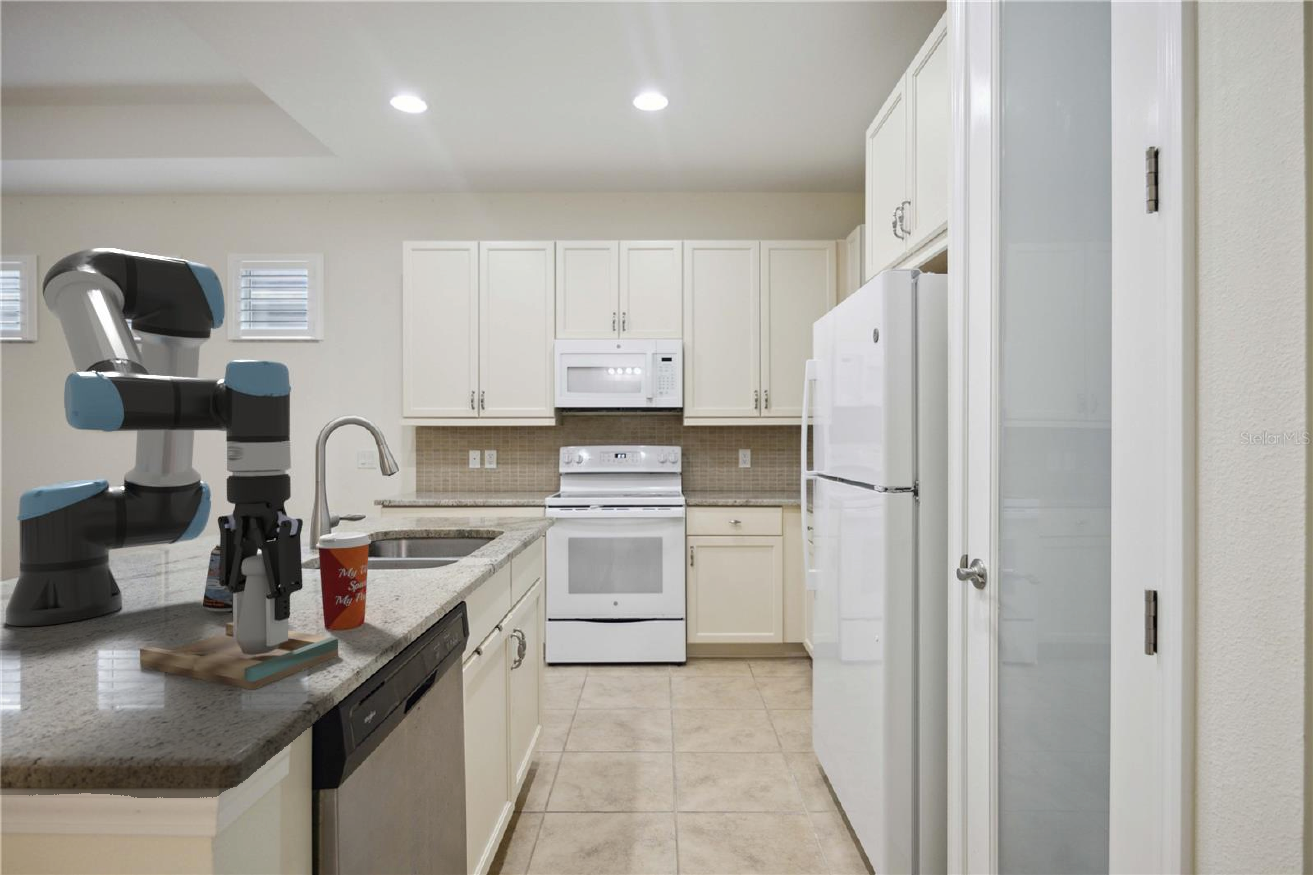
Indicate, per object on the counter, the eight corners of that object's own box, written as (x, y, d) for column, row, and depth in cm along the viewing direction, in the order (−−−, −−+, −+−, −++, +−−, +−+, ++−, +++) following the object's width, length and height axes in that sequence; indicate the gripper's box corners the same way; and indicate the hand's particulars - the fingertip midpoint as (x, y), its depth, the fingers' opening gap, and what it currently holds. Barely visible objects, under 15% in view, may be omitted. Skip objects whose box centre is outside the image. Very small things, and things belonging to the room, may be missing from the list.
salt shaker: (250, 643, 92) (249, 552, 92) (292, 642, 92) (291, 551, 92) (226, 657, 86) (225, 560, 86) (271, 656, 87) (270, 560, 86)
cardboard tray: (140, 666, 89) (139, 648, 89) (232, 637, 101) (232, 622, 101) (253, 689, 81) (252, 670, 81) (338, 655, 93) (338, 638, 93)
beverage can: (194, 613, 114) (193, 546, 114) (235, 603, 121) (234, 539, 121) (218, 617, 112) (217, 548, 112) (258, 606, 119) (257, 541, 118)
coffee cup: (350, 634, 103) (349, 540, 102) (305, 630, 104) (304, 538, 104) (382, 618, 111) (381, 531, 111) (340, 616, 112) (339, 530, 112)
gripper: (185, 473, 89) (187, 640, 89) (283, 476, 82) (285, 657, 82) (238, 470, 96) (239, 625, 96) (332, 473, 89) (334, 639, 89)
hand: (260, 639), depth 89 cm, fingers closed on salt shaker, 6 cm apart
